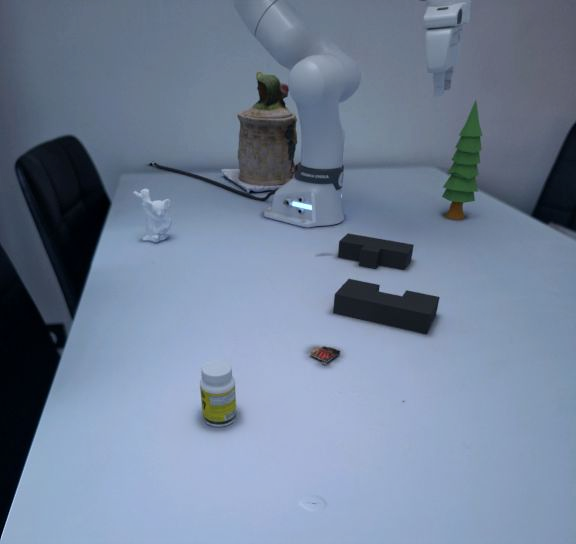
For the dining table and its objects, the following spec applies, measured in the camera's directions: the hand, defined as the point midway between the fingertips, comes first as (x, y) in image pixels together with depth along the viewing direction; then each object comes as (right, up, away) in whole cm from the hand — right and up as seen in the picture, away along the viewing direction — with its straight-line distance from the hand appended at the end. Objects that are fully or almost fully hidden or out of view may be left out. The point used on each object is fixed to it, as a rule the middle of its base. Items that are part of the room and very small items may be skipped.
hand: (442, 92), depth 115 cm
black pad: (-14, -34, +9) cm, 38 cm away
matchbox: (-27, -58, -26) cm, 69 cm away
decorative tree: (+15, -15, +38) cm, 44 cm away
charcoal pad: (-15, -50, -13) cm, 53 cm away
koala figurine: (-66, -27, +17) cm, 73 cm away
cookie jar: (-40, +5, +65) cm, 76 cm away
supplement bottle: (-43, -68, -40) cm, 90 cm away
